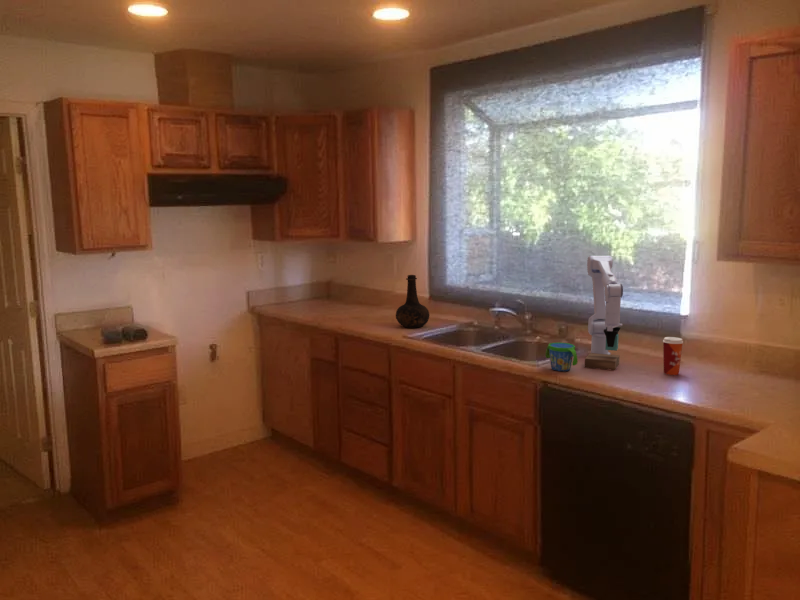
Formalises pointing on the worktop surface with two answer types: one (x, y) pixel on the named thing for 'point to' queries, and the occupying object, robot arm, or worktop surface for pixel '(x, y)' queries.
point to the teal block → (614, 344)
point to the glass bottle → (412, 308)
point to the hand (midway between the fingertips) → (611, 345)
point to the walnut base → (602, 361)
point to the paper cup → (672, 355)
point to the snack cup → (561, 356)
